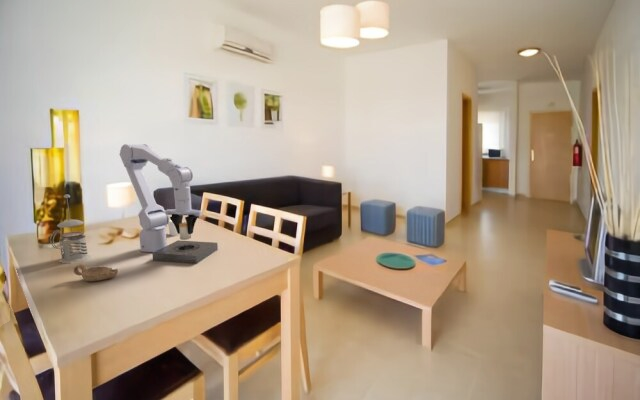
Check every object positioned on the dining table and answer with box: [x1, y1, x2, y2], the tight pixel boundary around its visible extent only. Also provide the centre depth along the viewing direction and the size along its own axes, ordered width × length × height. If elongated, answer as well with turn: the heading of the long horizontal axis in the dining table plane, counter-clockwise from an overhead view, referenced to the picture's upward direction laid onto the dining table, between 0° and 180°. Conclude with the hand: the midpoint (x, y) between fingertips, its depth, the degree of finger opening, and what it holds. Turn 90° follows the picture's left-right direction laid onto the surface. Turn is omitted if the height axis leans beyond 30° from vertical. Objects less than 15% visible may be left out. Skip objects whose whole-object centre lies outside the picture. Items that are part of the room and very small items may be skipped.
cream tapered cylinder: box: [167, 219, 184, 237], centre depth 154 cm, size 7×7×7 cm
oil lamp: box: [73, 264, 119, 282], centre depth 103 cm, size 13×8×5 cm, turn 90°
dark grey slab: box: [151, 239, 219, 265], centre depth 125 cm, size 18×16×3 cm
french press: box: [49, 193, 92, 264], centre depth 118 cm, size 10×12×25 cm
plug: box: [179, 221, 192, 241], centre depth 124 cm, size 4×4×6 cm
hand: (185, 233), depth 124 cm, fingers closed on plug, 4 cm apart
